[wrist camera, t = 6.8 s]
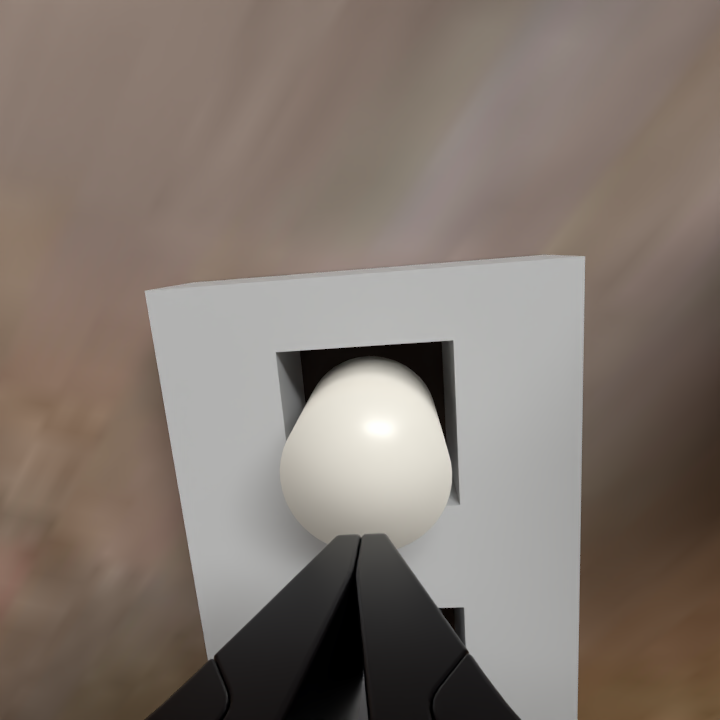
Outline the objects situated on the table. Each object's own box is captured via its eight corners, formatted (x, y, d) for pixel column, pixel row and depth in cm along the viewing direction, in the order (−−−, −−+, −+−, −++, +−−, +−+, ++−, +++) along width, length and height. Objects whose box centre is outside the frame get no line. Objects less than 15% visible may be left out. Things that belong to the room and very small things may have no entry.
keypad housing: (544, 254, 16) (585, 256, 13) (544, 853, 22) (573, 964, 19) (192, 282, 17) (144, 290, 14) (278, 850, 23) (258, 956, 19)
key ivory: (432, 351, 15) (448, 388, 11) (439, 475, 16) (455, 550, 12) (300, 360, 15) (270, 399, 11) (314, 481, 16) (289, 556, 12)
